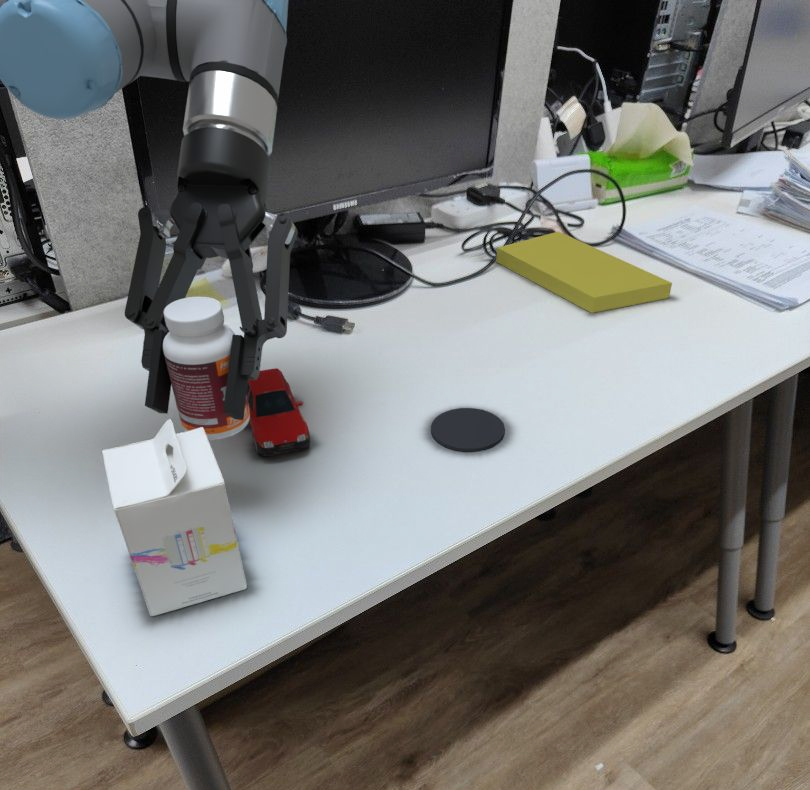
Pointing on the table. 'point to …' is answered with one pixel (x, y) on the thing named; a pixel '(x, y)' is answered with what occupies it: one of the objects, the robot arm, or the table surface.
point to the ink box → (175, 518)
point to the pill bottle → (200, 365)
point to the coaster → (467, 429)
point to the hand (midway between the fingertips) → (194, 412)
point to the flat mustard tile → (582, 273)
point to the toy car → (275, 415)
